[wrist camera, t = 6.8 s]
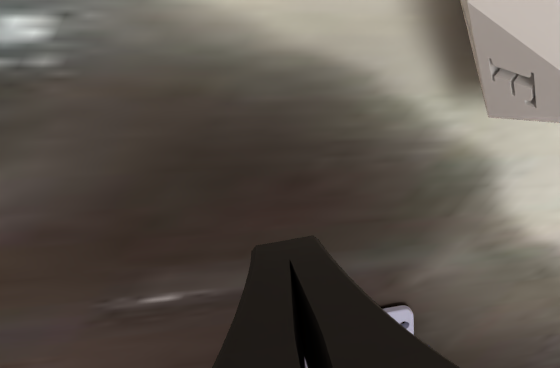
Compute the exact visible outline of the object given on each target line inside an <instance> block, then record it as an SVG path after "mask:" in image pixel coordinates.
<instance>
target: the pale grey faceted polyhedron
mask: <svg viewBox="0 0 560 368" xmlns="http://www.w3.org/2000/svg"><path fill="white" fill-rule="evenodd" d="M460 2H461V6H462V10H463V14H464V18H465V23H466V27H467V29H468V34H469V39H470V43H471V47H472V51H473V55H474V60H475V64H476V68H477V72H478V76H479V80H480V84H481V88H482V92H483V97H484V101H485V105H486V109H487V113H488V117H492V118H504V119H517V120H529V121H542V122H554V123H560V0H460Z"/></svg>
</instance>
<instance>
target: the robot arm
mask: <svg viewBox="0 0 560 368" xmlns="http://www.w3.org/2000/svg"><path fill="white" fill-rule="evenodd" d="M404 321H405V323H404V324H400V323H401V322H404ZM212 368H460V367H458V366H457V365H455V364H454V363H452V362H451V361H449V360H448V359H446V358H445V357H443V356H442V355H441V354H439V353H438V352H436V351H435V350H433V349H432V348H431V347H429V346H428V345H427V344H425V343H424V342H422V341H421V340H420V339H418V338H417V337H416V336H414V318H413V312H412V310H411V309H410V308H409V307H408V306H406V305H401V306H395V307H390V308H384V309H382V308H381V307H380V306H379V305H378V304H376V303H375V302H374V301H373V300H372V299H371V298H370V297H369V296H368V295H367V294H366V293H365V292H364V291H363V290H362V289H361V288H360V287H359V286H358V285H357V284H356V283H355V282H354V281H353V280H352V279H351V278H350V277H349V276H348V275H347V274H346V273H345V272H344V270H343V269H342V268H341V267H340V266H339V265H338V264H337V263H336V261H335V260H334V259H333V258H332V257H331V255H330V254H329V253H328V252H327V250H326V249H325V248H324V246H323V245H322V244H321V242H320V241H319V239H317V238H316V237H314V236H308V237H302V238H297V239H291V240H286V241H280V242H274V243H269V244H263V245H257V246H256V247H255V248H254V249H253V250H252V254H251V263H250V268H249V273H248V277H247V280H246V284H245V288H244V291H243V294H242V297H241V300H240V303H239V306H238V309H237V312H236V314H235V317H234V320H233V322H232V324H231V327H230V329H229V332H228V334H227V336H226V339H225V341H224V343H223V346H222V348H221V350H220V352H219V355H218V357H217V359H216V361H215V363H214V365H213V367H212Z"/></svg>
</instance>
